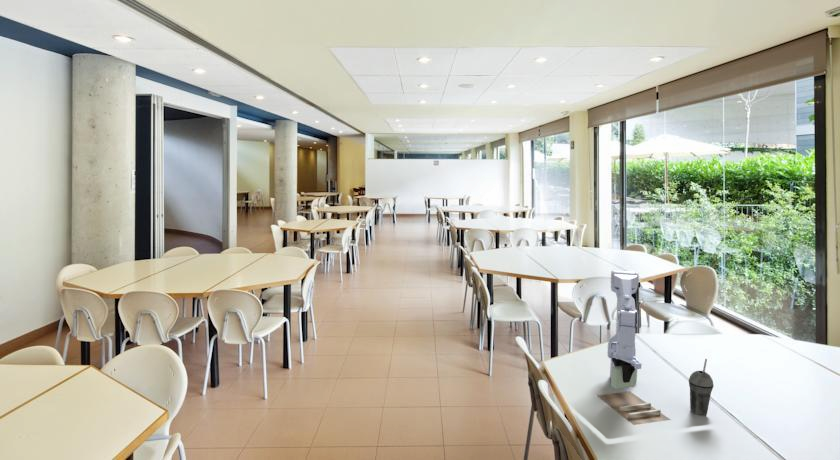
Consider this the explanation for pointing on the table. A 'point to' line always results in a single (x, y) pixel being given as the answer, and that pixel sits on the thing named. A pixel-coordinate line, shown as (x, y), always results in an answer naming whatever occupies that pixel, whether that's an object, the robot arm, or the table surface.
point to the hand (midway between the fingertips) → (623, 380)
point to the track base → (633, 408)
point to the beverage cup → (700, 391)
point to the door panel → (621, 378)
